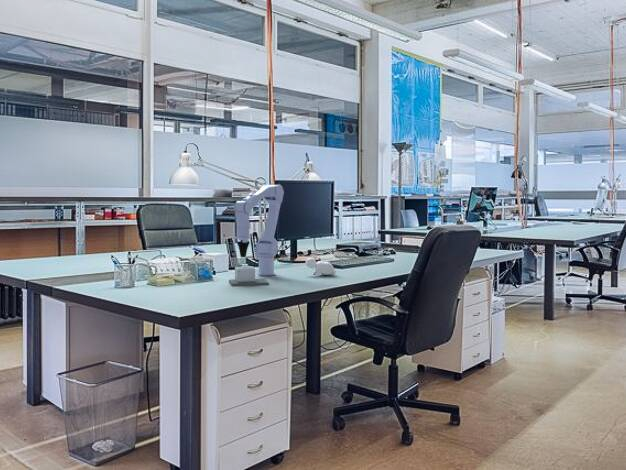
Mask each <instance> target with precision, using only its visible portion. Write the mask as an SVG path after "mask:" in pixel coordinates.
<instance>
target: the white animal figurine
mask: <svg viewBox="0 0 626 470" xmlns="http://www.w3.org/2000/svg"><path fill="white" fill-rule="evenodd" d="M305 265H306V267H307V268H310V269H314V270H313V272H312V274H313V275H314V274H315V275H314V276H315V277H316V278H318V277H320V276H321V275H322V276H331V275H332V276H333V277H335V275H336V273H337V270H336V269H335V268H334V265H332V263H331V262H329V261H323V260H318V261H316V259H315V258H314V257H308V258H307V259H306V260H305Z"/></svg>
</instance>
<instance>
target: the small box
mask: <svg viewBox="0 0 626 470" xmlns="http://www.w3.org/2000/svg"><path fill="white" fill-rule="evenodd" d="M234 279H236V281H237V282H255V279H256V269H255V267H253V266H252V265H251V266H235V267H234Z"/></svg>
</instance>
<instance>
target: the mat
mask: <svg viewBox="0 0 626 470" xmlns="http://www.w3.org/2000/svg"><path fill="white" fill-rule="evenodd" d="M228 283H229V284H230V285H231V287H239V286H241V287H242V286H243V287H244V286H245V287H246V286H248V285H249V286H269V285H270V283H269V281H268V280H267V279H266V278H255V282H237V281H236V279H235V278H234V279H228Z"/></svg>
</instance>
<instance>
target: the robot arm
mask: <svg viewBox="0 0 626 470" xmlns="http://www.w3.org/2000/svg"><path fill="white" fill-rule="evenodd" d="M284 194H285V191H284V188H283V186H282V185H281V184H262V185H261V186H260V189H259V190H258V191H257V192H255V193H249V194H248V195H247V196H246V197H243V198H242V200H237V201H236V202H235V204H234V206H233V211H234V213H235V214H234V215H235V218H236V236H234V237H233V239H234V240H239V241H236V244H237V247H238V250H239V255H240V258H246V257H247V252H248V247H249V245H250V241H249V240H250V239H251V237H250V214H252V210H253V209H254V207H256V206H257V205H259V203H260V201H261V200H262V199H264V201H265V202H266V203H267V204H268V205H269V207H268V211H267V216H266V221H265V225H264V230H263V235H262V236H261V237H259V238H258V239H257V243H256V245H255V247H254V248H255V253H256V255H257V257H258V271H257V272H256V274H257V275H259V276H277V274H276V272H275V257H276V255H277V254H278V249H279V247H278V243H279V241H278V240H277V239H276V238H275V234H276V230H277V224H278V220H279V214H280V209H281V205H282V203H283V199H284Z"/></svg>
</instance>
